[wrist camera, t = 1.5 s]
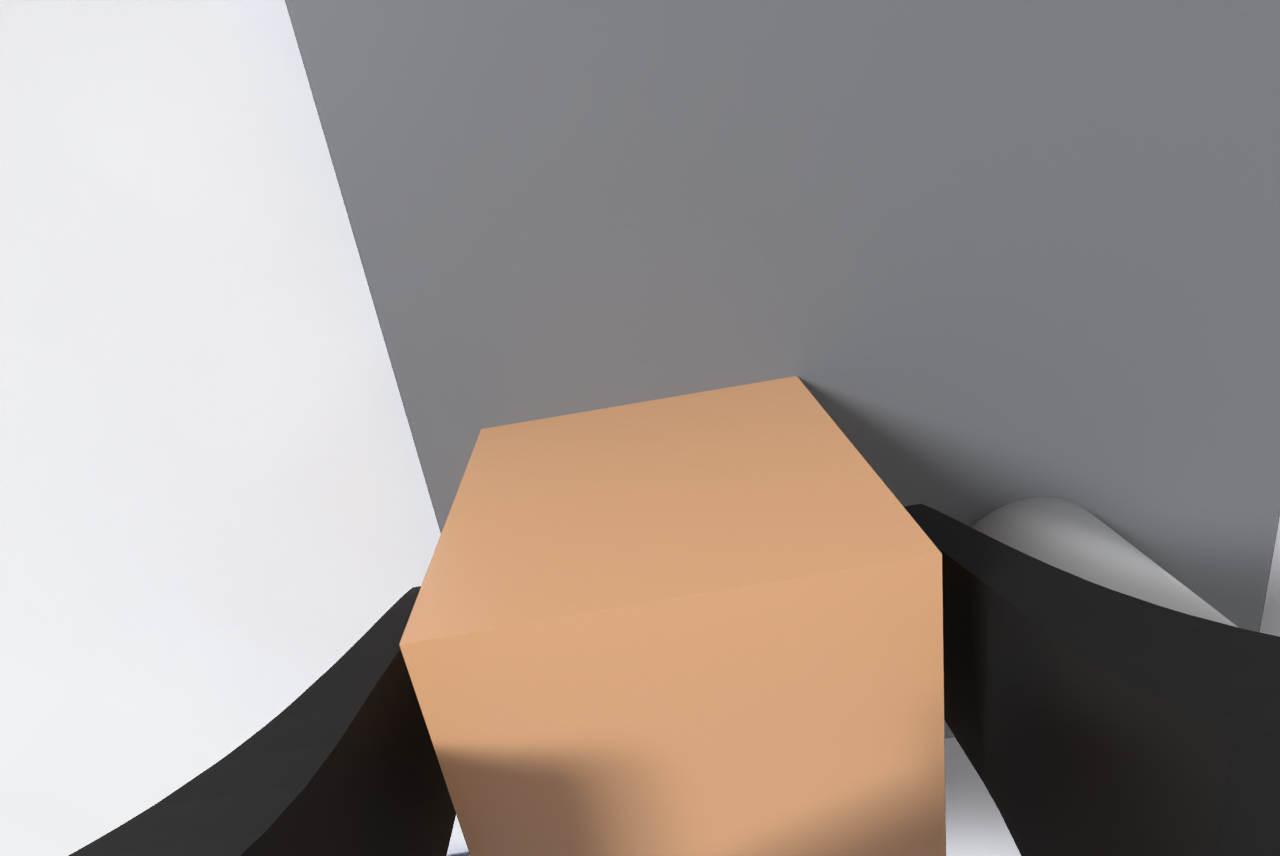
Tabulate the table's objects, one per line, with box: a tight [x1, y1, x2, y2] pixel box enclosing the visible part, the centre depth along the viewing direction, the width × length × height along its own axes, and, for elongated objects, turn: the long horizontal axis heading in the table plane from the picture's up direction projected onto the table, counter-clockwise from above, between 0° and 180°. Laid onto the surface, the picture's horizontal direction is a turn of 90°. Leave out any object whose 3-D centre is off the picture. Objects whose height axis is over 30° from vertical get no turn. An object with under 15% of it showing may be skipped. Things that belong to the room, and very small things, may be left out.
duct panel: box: [285, 0, 1280, 738], centre depth 12 cm, size 18×16×5 cm
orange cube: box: [399, 376, 946, 856], centre depth 12 cm, size 6×6×6 cm
